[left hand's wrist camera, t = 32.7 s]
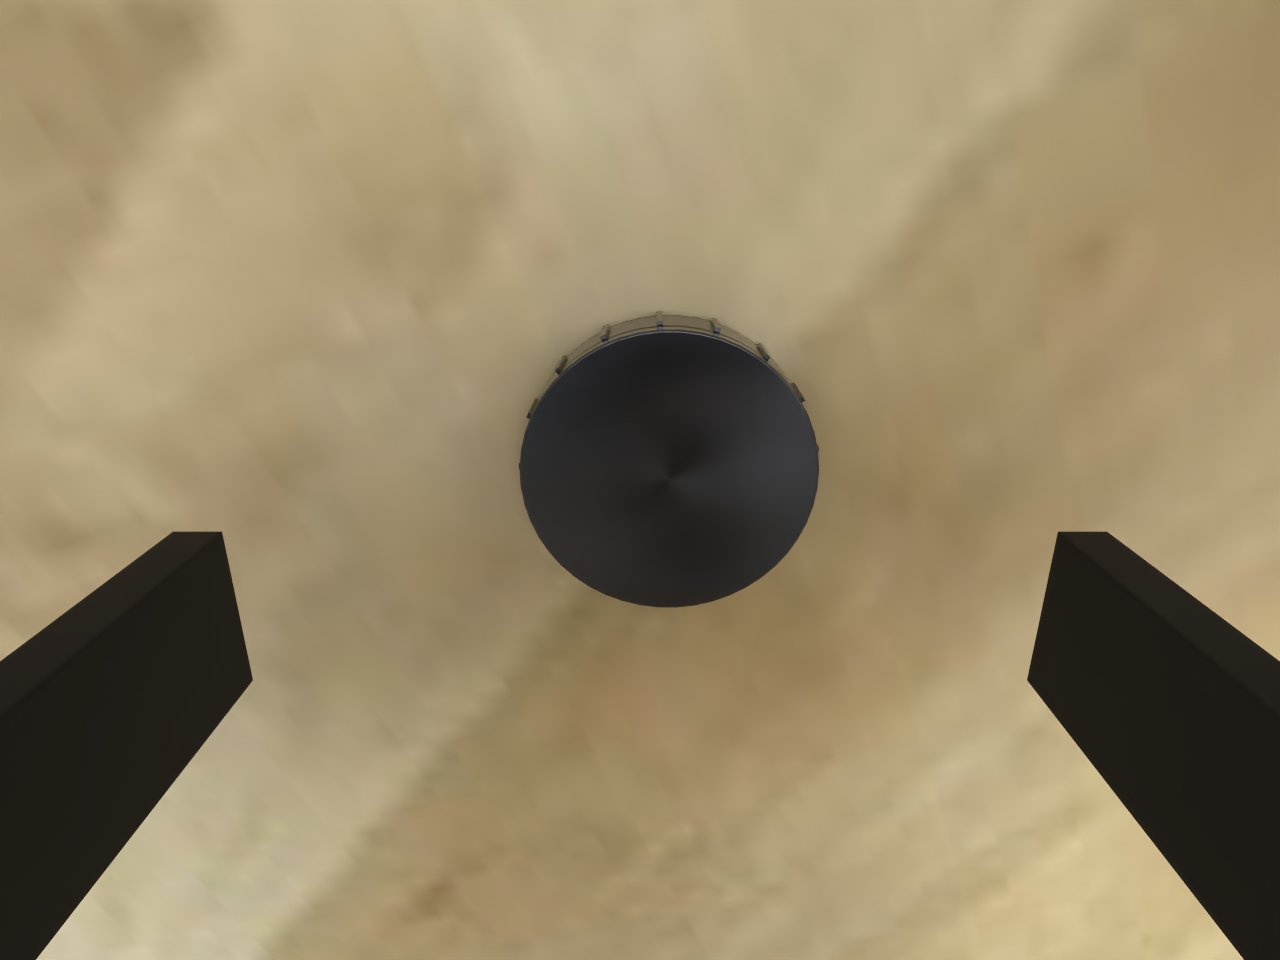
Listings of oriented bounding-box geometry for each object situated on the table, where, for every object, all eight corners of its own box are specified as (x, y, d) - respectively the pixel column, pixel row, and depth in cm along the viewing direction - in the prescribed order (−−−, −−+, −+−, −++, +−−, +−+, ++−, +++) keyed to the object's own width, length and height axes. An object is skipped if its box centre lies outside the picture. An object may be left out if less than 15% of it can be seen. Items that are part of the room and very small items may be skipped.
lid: (509, 320, 16) (496, 336, 15) (810, 300, 16) (825, 314, 14) (544, 581, 18) (534, 616, 17) (807, 567, 18) (820, 602, 17)
